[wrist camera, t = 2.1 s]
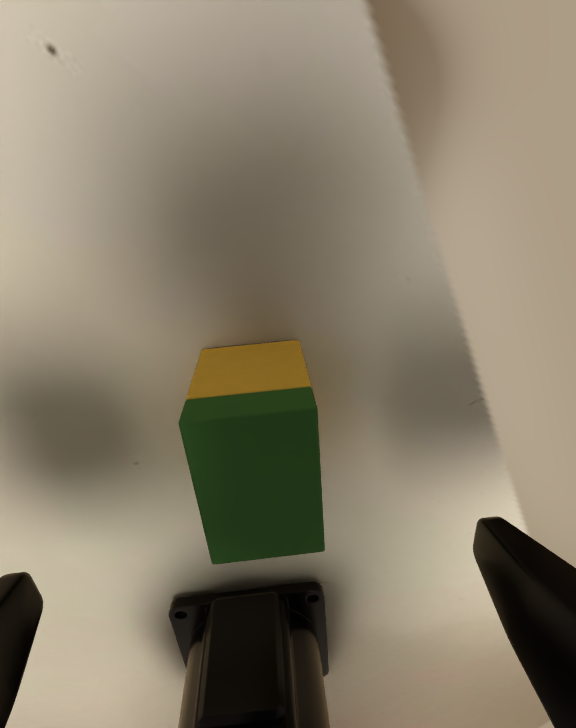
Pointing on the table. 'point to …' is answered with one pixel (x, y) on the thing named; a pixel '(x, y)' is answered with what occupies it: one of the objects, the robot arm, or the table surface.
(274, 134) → the table surface
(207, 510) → the sponge
